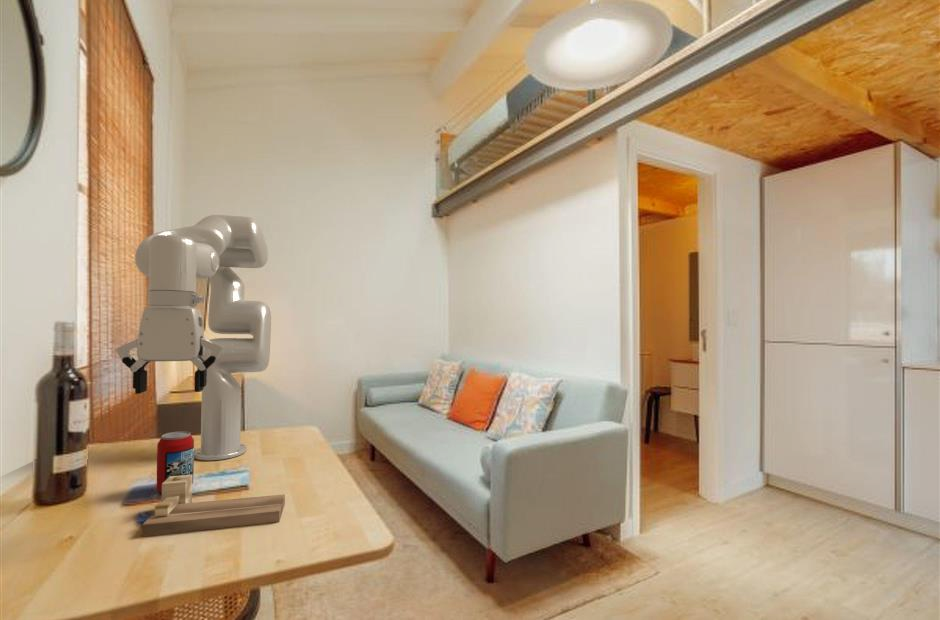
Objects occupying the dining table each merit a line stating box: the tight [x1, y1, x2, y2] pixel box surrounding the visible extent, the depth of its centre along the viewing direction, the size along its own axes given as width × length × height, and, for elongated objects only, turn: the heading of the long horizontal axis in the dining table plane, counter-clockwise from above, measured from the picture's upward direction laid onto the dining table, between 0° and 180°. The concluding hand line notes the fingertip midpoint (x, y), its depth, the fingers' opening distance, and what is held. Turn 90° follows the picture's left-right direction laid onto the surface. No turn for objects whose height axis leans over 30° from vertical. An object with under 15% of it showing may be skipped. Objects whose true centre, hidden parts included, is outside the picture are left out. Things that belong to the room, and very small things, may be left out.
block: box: [154, 475, 193, 516], centre depth 85 cm, size 10×4×6 cm, turn 16°
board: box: [141, 494, 286, 537], centre depth 84 cm, size 8×22×2 cm, turn 106°
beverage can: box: [156, 431, 195, 493], centre depth 98 cm, size 7×7×12 cm
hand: (170, 391), depth 85 cm, fingers open, 9 cm apart
